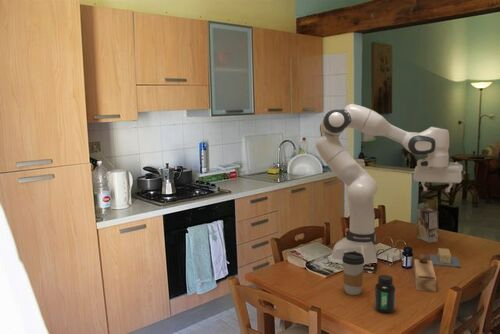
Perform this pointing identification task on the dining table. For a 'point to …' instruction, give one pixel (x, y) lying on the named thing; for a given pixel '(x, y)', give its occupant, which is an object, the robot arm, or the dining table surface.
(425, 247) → the dining table surface
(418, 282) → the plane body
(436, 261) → the mat
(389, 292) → the supplement bottle
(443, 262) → the beige rectangular block
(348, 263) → the coffee cup
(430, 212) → the coffee box
